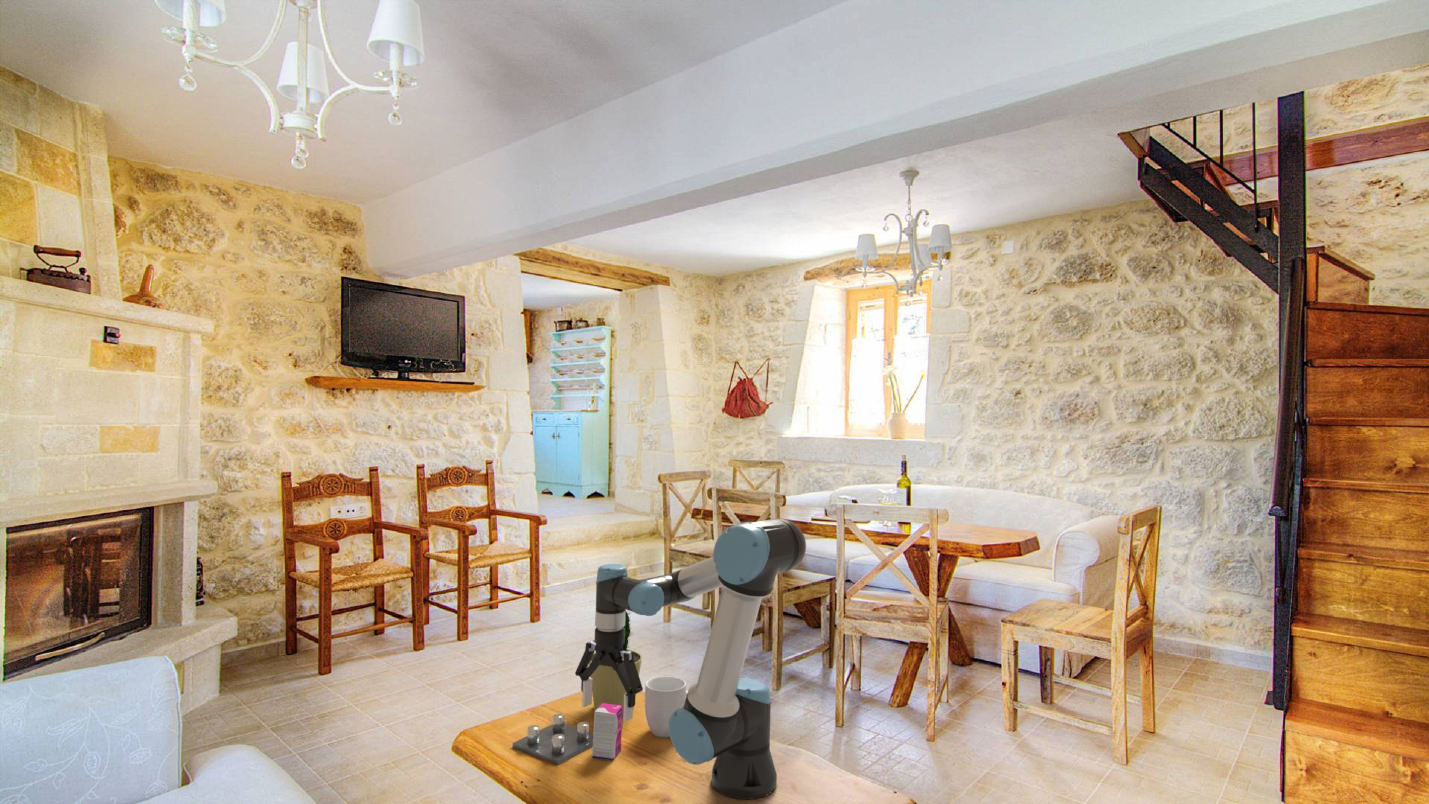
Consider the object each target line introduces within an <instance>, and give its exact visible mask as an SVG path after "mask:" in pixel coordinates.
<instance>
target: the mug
mask: <svg viewBox="0 0 1429 804" xmlns="http://www.w3.org/2000/svg"><path fill="white" fill-rule="evenodd" d="M644 685H645V687H644V688H645V689H644V690H645V691H644V709H645V710H644V713H645V718H646V722H647V725H648V728H649V730H650V731H651V733H652V734H653V735H654V736H656V737H658V738H670V735H669V720H670V717H671V715H672V714H673V713H674V712H675V711H676V710H677V709H679V708H683V706H684V704H685V700H686V696H687V693H688V690H687V682H686V681H685V680H684V679H682V678H680V677H675V676H669V675H667V676H665V675H664V676H655V677H652V678H650V679H648V680H647V681H646V682H645V684H644Z"/></svg>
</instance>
